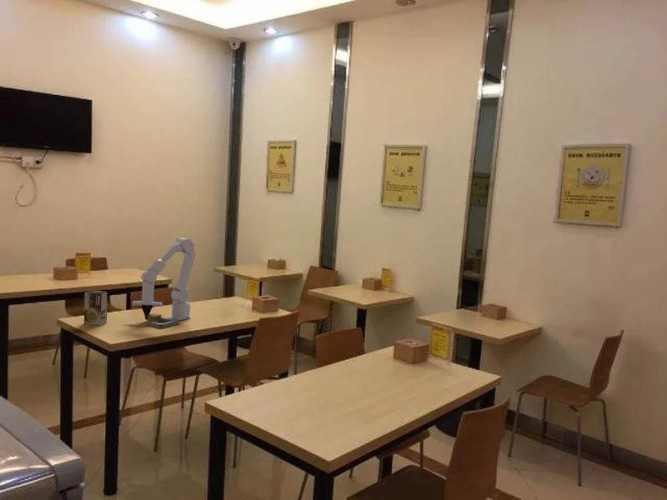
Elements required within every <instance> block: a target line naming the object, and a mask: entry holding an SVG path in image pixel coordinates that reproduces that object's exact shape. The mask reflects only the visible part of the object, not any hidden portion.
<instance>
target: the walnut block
mask: <svg viewBox="0 0 667 500" xmlns="http://www.w3.org/2000/svg"><path fill="white" fill-rule="evenodd" d="M161 318H162V314H160V313H153V312H152V313H150V314H149V315H148V316H147V320H146V321H152V322H156V323H162V322H161Z"/></svg>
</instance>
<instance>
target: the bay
mask: <svg viewBox="0 0 667 500" xmlns="http://www.w3.org/2000/svg"><path fill="white" fill-rule="evenodd" d="M178 323H179V320H175V319H170V318H168V317H164V316H161V322H160V323H156V322H152V321H147V320H146V322H145V326H149V327H152V326H153V328H156V327H157V329H164V328H169V327H173V326H176V325H178Z"/></svg>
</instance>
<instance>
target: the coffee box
mask: <svg viewBox="0 0 667 500" xmlns="http://www.w3.org/2000/svg"><path fill="white" fill-rule="evenodd" d="M108 293H109V291H104V290H103V291H102V290H94V289H93V290H88V291H85V292H84V305H83V306H84V309H83V310H84V313H83V324H84V325H85V324H86V325H93V326H94V325H95V326H102V325H105V324H107V323H108V300H109V299H108V298H109V297H108Z"/></svg>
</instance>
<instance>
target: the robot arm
mask: <svg viewBox="0 0 667 500" xmlns="http://www.w3.org/2000/svg"><path fill="white" fill-rule="evenodd" d="M194 246H195V243H194V242H193V240H191V239H189V238H185V237H182V236H179V237H176V239H175V240H174V241H173V242H172V243H171V245H170V246H169V248H168V249H167V250H166V251H165V253H164V254H163V255H162V256H161V258H159V259H156V260H153V262H152V264H151V265H150V266H149V267H147V268H146V270H144V271H143V272H142V274H141V276H140V278H141V280H142V286H141V287H142V291H141V294H142V295H141V300H134V301H132V306H141V310H142V312H143V315H144V320H146V321H147V316H148V315H150V314H151V311H152V309H153V307H161V308H162V307H163V302H162V301H154V298H155V297H154V295H155V293H154V292H155V281H156V280H157V279H158V275H160V274H161V273H162V271H163V270H164V269H165V268H166V263H167V262H169V260H170V259H171V258H172V257H173V256H175V254H176V253H182V254H183V261H182V265H181V268H180V272H179V277H178V280H177V283H176V284H175V285H174V288H173V290H172V291H171V293H170V297H171V299H172V305H171V316H168V317H167V318H169V319H173V320H178V321H183V320H186V319H190V318H192V317H191V315H190V312H191V305H190V303H189V298H190V297H189V287H188V286H189V281H190V277H191V273H192V270H193V267H194V266H193V265H194V261H195V257H196V251H195V247H194Z"/></svg>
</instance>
